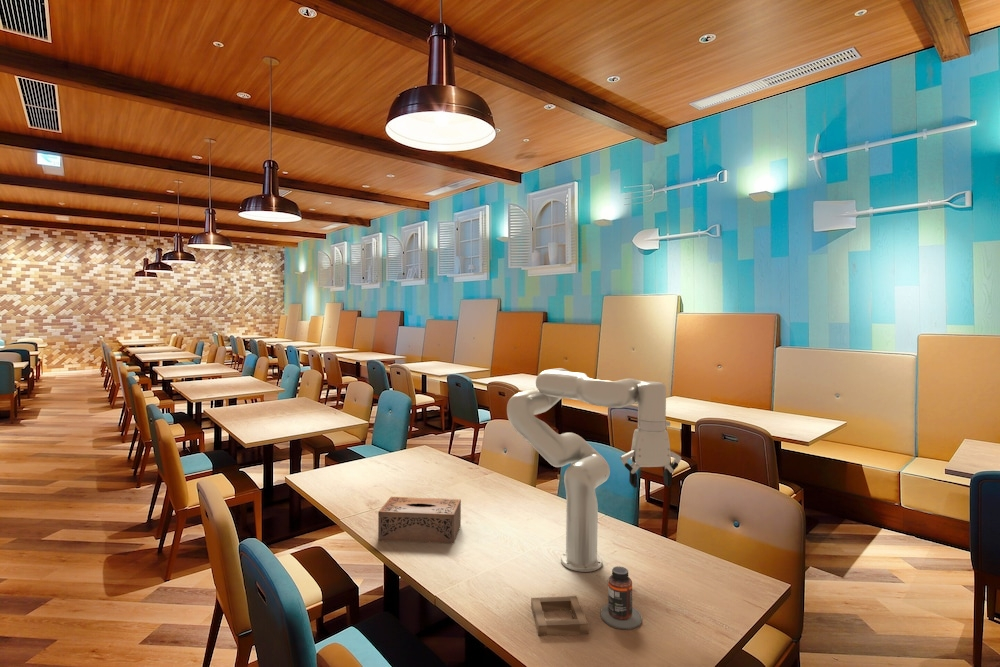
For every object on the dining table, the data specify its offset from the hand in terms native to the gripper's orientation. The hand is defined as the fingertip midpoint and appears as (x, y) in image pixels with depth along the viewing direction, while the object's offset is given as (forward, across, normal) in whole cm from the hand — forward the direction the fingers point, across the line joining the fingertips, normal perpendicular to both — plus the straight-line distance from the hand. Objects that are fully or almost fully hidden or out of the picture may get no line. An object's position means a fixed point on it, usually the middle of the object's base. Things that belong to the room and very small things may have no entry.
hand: (650, 485), depth 143 cm
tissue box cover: (+29, +67, -39) cm, 83 cm away
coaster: (+28, +13, +15) cm, 35 cm away
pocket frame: (+28, +29, +15) cm, 43 cm away
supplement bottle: (+28, +13, +15) cm, 34 cm away
